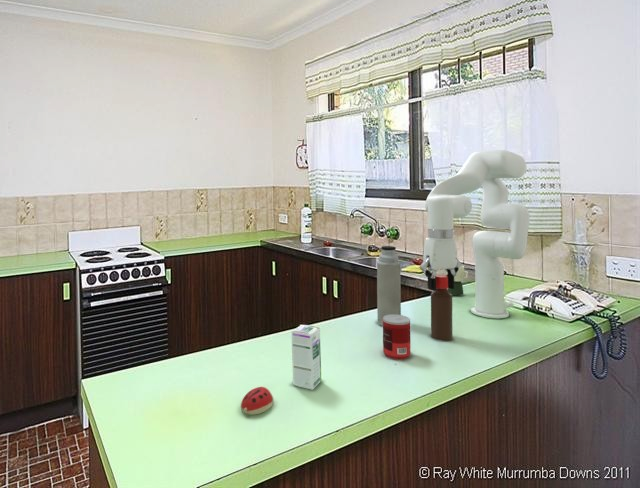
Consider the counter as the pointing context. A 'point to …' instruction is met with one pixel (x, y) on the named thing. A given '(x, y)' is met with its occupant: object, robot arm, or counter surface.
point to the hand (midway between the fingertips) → (440, 288)
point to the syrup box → (306, 356)
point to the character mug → (457, 281)
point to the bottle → (441, 315)
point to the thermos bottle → (388, 284)
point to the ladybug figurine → (257, 401)
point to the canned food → (396, 336)
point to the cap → (441, 281)
